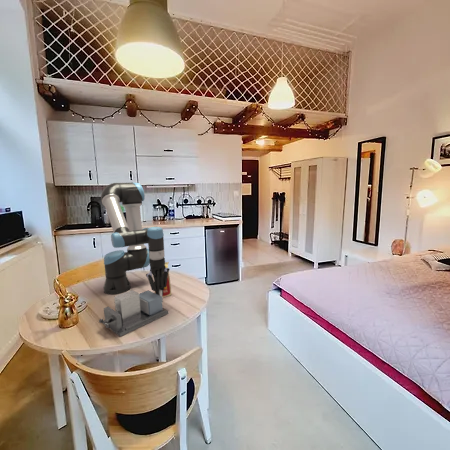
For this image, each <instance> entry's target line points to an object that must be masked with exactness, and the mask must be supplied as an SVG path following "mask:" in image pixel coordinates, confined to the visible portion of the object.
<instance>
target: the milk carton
mask: <svg viewBox="0 0 450 450" xmlns="http://www.w3.org/2000/svg"><path fill="white" fill-rule="evenodd" d="M169 263H170V262H169V261H167V262H166V261H165V267H166V268H169ZM170 277H171V276H170V271H169V272H168V278H167V285H166V287H164V288H165V289H164V290H163V295H162V297H163V298H166V296H167V297H169V296H172V284H171V278H170ZM159 289H160V288H159ZM154 293H155V294H156V292H155V291H154Z"/></svg>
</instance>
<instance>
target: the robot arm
mask: <svg viewBox="0 0 450 450" xmlns="http://www.w3.org/2000/svg"><path fill="white" fill-rule="evenodd" d="M145 196H146V195H145V191H144V188H143V186H142V184H141V183H139V182H113V183H110V184H108V185H107V186H105V187H104V189H103V190H102V192H101V195H100V200H101V204H102V206H103V207H105V210H106V213H107V216H108V220H109V223H110V226H111V228H112V233H111V236H110V241H111V245H112V247H113V248H114V249H119V248H125V247H126V248H127V249H126V251H124V250H123V249H119V250H113V251H110V252H108V253H106V254H105V255H104V256H103V265H104V272H105V273H104V274H105V275H104V276H105V281H104V285H103V292H104V294H107V295H120V294H123V293H125V292H128V290H129V291H130V289H131V282H130V281H129V279H128V276H127V272H129V271H133V270H138V269H144V268H148V267H150V269H149V271H148V273H146V274H145V276H146V278H147V280H148V282H149V285H150V289H151V290H152V292H154V293H155V292H156V294H157V295H159V296H162V295H163V290H164V289H165V288H164V287H166V285H167V278H168V272H169V273H170V268H169V267H168V268H166V267H165V262H166V258H165V257H166V256H165V240H164V239H165V238H164V230H163V229H164V228H163V227H162V226H152V227H143V225H142V215H141V214H142V213H141V206H142V204H143V202H144V201H145ZM120 203H122V204H120ZM122 206H123V208H124V209H125V214H124V212H123V210H122ZM125 217H126V218H125ZM145 244H147V246H148V247H147V246H146V245H145ZM159 288H160V289H159ZM163 298H164V297H162V303H163V302H164V300H163Z"/></svg>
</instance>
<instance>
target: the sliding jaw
mask: <svg viewBox="0 0 450 450" xmlns="http://www.w3.org/2000/svg"><path fill="white" fill-rule="evenodd" d="M139 299H140V310H141V311H143V312H145V313H147V314H148V315H150V316H151V315H153V314H155V313H157V312H159V311H161V310H163V308H164V307H163V302H162V296H159V295H157V294H155V292H154V291H151V290H145V291H143V292H140V293H139Z"/></svg>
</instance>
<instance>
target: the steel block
mask: <svg viewBox="0 0 450 450" xmlns="http://www.w3.org/2000/svg"><path fill="white" fill-rule="evenodd" d="M139 294H140V293H139V292H137V291H135V290H133V289H131V290H129V291H128V290H127V291H125V292H122V293H119V294H116V295H115V296H114V297H113V298H114V305H115V306H114V307H115V310H114V311H116V312H117V313H119V314H120V315H121V321H122V325H125V324H127V323H129V322H131V321H134V320H136V319H138V318H140V317H141V310H140V299H139Z"/></svg>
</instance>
